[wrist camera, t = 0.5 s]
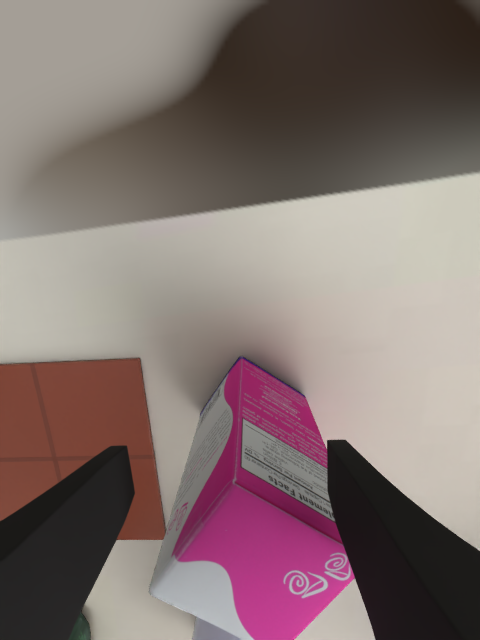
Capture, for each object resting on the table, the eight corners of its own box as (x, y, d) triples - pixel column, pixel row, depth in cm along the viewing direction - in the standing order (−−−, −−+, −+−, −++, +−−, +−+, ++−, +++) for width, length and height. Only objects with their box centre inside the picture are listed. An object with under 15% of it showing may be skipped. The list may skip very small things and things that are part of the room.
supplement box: (264, 452, 21) (275, 668, 10) (198, 413, 21) (135, 592, 10) (309, 396, 20) (379, 568, 9) (241, 352, 20) (223, 476, 8)
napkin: (166, 536, 24) (165, 540, 23) (-11, 536, 25) (-14, 540, 24) (140, 358, 20) (138, 359, 20) (-65, 366, 21) (-70, 368, 21)
